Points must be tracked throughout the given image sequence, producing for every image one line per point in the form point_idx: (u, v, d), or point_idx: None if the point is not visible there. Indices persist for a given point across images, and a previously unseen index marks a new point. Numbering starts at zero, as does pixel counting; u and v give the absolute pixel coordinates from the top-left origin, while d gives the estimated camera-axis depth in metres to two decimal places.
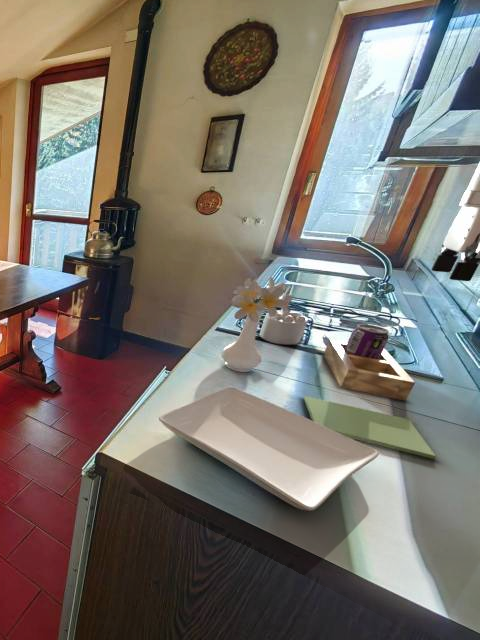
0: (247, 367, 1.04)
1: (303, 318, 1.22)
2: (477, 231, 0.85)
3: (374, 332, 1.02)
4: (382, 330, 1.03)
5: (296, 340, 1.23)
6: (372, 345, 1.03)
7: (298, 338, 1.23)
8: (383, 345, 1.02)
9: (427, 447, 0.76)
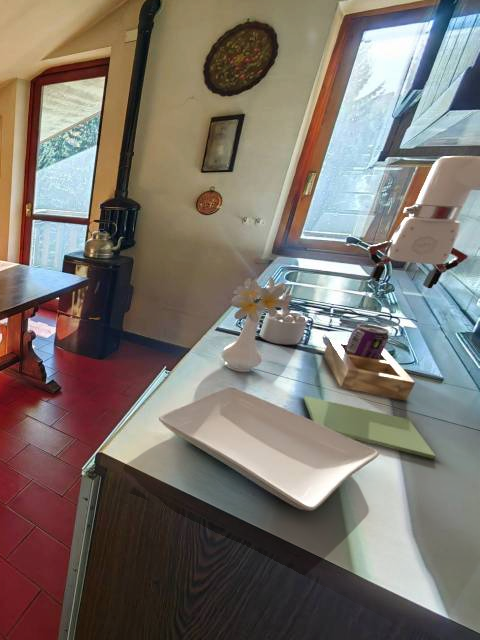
0: (247, 367, 1.04)
1: (303, 318, 1.22)
2: None
3: (374, 332, 1.02)
4: (382, 330, 1.03)
5: (296, 340, 1.23)
6: (372, 345, 1.03)
7: (298, 338, 1.23)
8: (383, 345, 1.02)
9: (427, 447, 0.76)
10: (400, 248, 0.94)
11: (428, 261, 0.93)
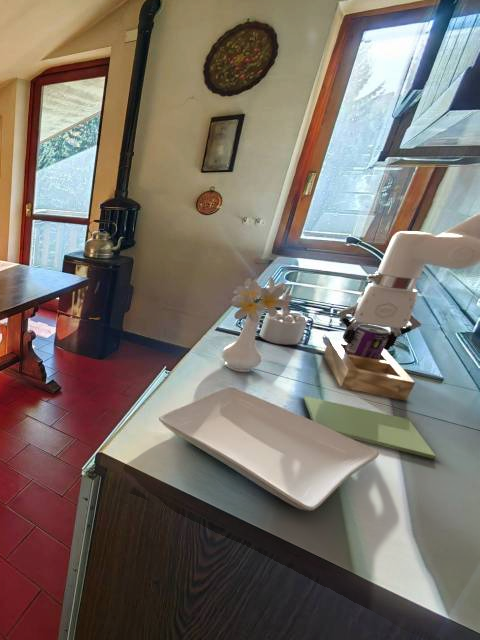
0: (247, 367, 1.04)
1: (303, 318, 1.22)
2: (357, 300, 1.05)
3: (374, 332, 1.02)
4: (382, 330, 1.03)
5: (296, 340, 1.23)
6: (372, 345, 1.03)
7: (298, 338, 1.23)
8: (383, 345, 1.02)
9: (427, 447, 0.76)
10: (364, 312, 1.02)
11: (390, 325, 1.00)
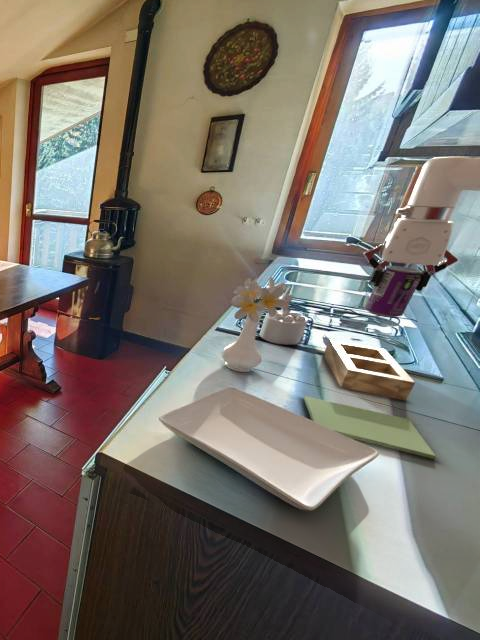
0: (247, 367, 1.04)
1: (303, 318, 1.22)
2: (385, 239, 0.97)
3: (405, 272, 0.94)
4: (414, 271, 0.96)
5: (296, 340, 1.23)
6: (403, 286, 0.95)
7: (298, 338, 1.23)
8: (415, 286, 0.95)
9: (427, 447, 0.76)
10: (394, 249, 0.94)
11: (423, 262, 0.92)
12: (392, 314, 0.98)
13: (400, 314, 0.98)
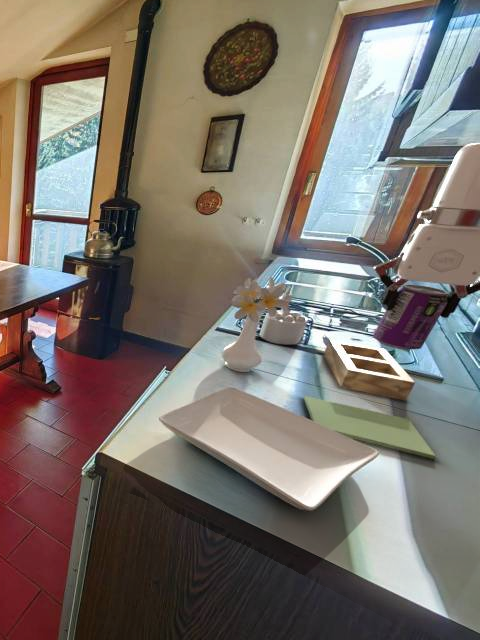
0: (247, 367, 1.04)
1: (303, 318, 1.22)
2: (402, 250, 0.75)
3: (428, 293, 0.73)
4: (438, 291, 0.74)
5: (296, 340, 1.23)
6: (425, 311, 0.73)
7: (298, 338, 1.23)
8: (439, 312, 0.73)
9: (427, 447, 0.76)
10: (414, 264, 0.73)
11: (452, 282, 0.71)
12: (409, 346, 0.76)
13: (419, 346, 0.76)
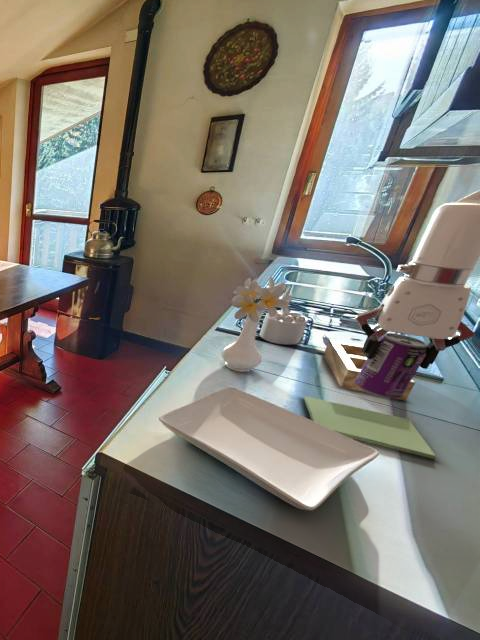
0: (247, 367, 1.04)
1: (303, 318, 1.22)
2: (383, 301, 0.77)
3: (407, 345, 0.74)
4: (418, 342, 0.75)
5: (296, 340, 1.23)
6: (404, 362, 0.75)
7: (298, 338, 1.23)
8: (418, 363, 0.74)
9: (427, 447, 0.76)
10: (393, 317, 0.74)
11: (430, 335, 0.72)
12: (389, 395, 0.77)
13: (399, 395, 0.77)
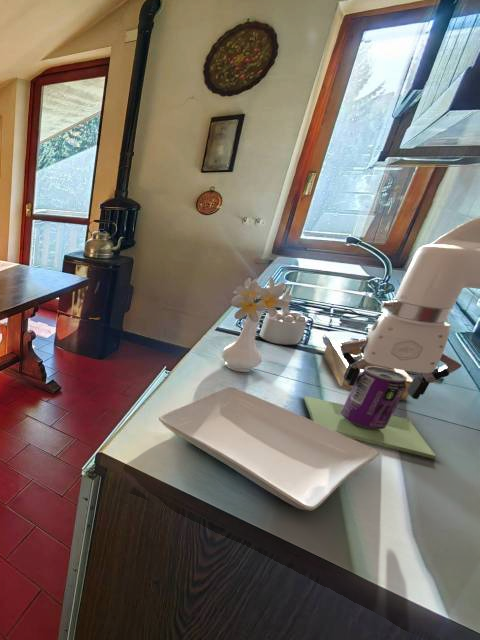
0: (247, 367, 1.04)
1: (303, 318, 1.22)
2: (367, 334, 0.79)
3: (387, 379, 0.77)
4: (397, 376, 0.79)
5: (296, 340, 1.23)
6: (385, 396, 0.78)
7: (298, 338, 1.23)
8: (399, 396, 0.78)
9: (427, 447, 0.76)
10: (377, 351, 0.77)
11: (413, 369, 0.75)
12: (373, 426, 0.81)
13: (383, 426, 0.80)
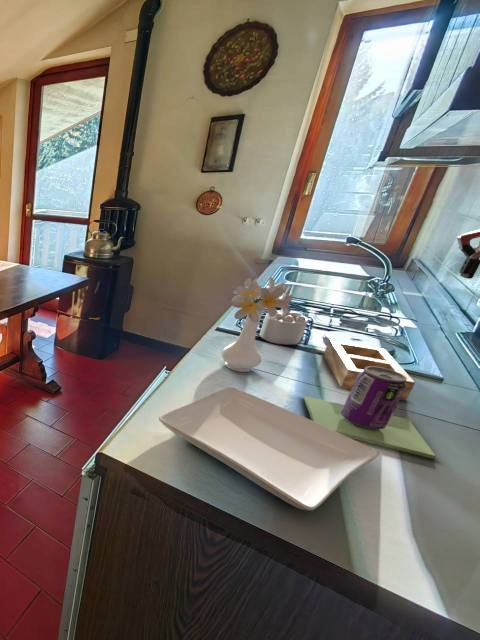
0: (247, 367, 1.04)
1: (303, 318, 1.22)
2: None
3: (387, 379, 0.77)
4: (397, 376, 0.79)
5: (296, 340, 1.23)
6: (385, 396, 0.78)
7: (298, 338, 1.23)
8: (399, 396, 0.78)
9: (427, 447, 0.76)
10: None
11: None
12: (373, 426, 0.81)
13: (383, 426, 0.80)
